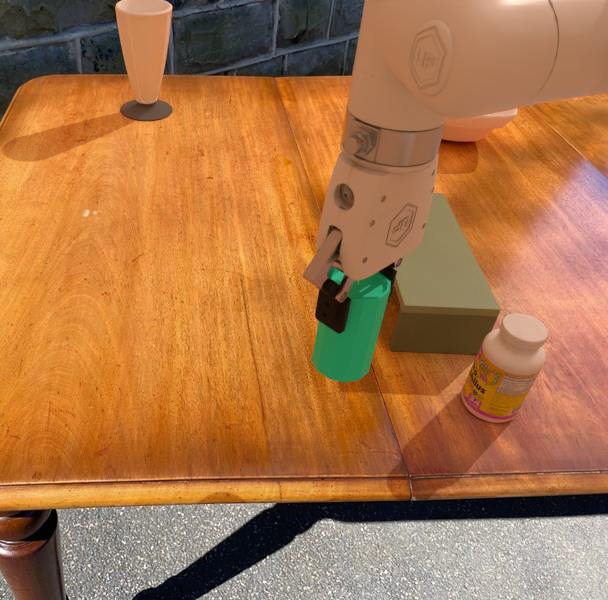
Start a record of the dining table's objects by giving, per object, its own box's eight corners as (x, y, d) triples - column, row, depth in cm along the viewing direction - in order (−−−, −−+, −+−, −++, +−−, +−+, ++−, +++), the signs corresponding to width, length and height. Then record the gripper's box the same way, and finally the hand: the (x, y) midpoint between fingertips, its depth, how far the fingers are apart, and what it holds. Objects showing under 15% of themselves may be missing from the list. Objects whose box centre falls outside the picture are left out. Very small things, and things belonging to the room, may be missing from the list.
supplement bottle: (455, 380, 80) (488, 303, 72) (509, 387, 80) (548, 310, 71) (464, 421, 75) (500, 343, 67) (522, 429, 74) (566, 351, 66)
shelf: (481, 355, 84) (501, 309, 79) (390, 351, 84) (404, 305, 79) (430, 235, 105) (443, 193, 100) (358, 232, 105) (367, 189, 100)
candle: (375, 383, 63) (401, 288, 55) (314, 381, 63) (333, 286, 55) (364, 342, 68) (387, 249, 60) (308, 340, 68) (324, 247, 60)
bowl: (488, 116, 143) (501, 79, 137) (513, 159, 127) (528, 119, 122) (396, 109, 144) (404, 72, 138) (409, 151, 128) (419, 111, 123)
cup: (177, 119, 136) (178, 13, 122) (124, 122, 134) (118, 14, 120) (167, 97, 145) (167, -4, 131) (117, 100, 142) (111, -3, 128)
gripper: (359, 186, 43) (322, 373, 54) (492, 122, 52) (436, 294, 63) (279, 147, 47) (260, 328, 59) (415, 94, 56) (375, 260, 68)
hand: (352, 309), depth 61 cm, fingers closed on candle, 5 cm apart
